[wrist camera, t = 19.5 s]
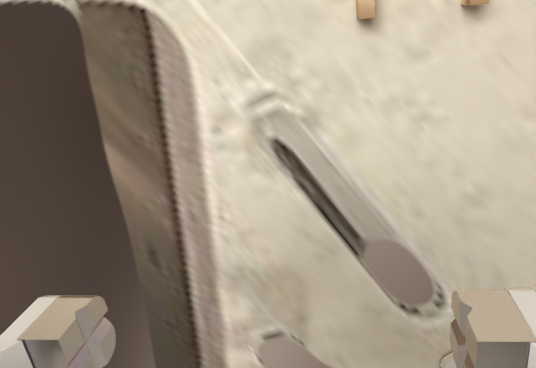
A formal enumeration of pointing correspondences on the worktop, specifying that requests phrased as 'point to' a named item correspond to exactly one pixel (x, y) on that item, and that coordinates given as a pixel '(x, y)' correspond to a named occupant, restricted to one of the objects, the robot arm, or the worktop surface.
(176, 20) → the worktop surface
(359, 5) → the oak shelf rails
